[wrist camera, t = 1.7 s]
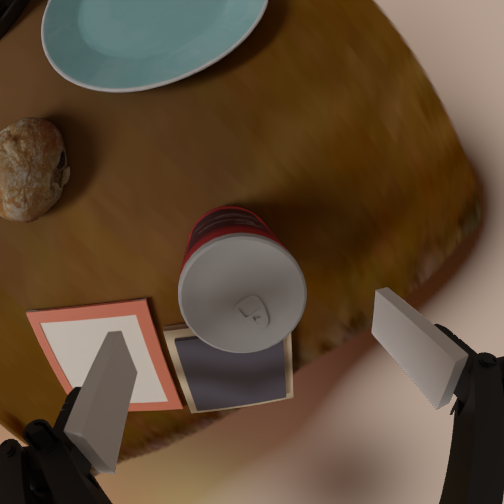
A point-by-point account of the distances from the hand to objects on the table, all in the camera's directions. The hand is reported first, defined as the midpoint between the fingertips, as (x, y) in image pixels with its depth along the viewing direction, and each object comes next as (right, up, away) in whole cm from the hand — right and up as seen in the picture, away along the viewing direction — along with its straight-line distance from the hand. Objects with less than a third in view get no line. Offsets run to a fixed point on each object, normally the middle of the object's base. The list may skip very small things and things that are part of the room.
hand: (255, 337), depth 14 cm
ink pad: (-2, -9, +18) cm, 20 cm away
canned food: (-2, +5, +13) cm, 15 cm away
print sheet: (-18, -9, +15) cm, 25 cm away
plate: (-10, +29, +5) cm, 31 cm away
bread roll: (-22, +12, +8) cm, 27 cm away
